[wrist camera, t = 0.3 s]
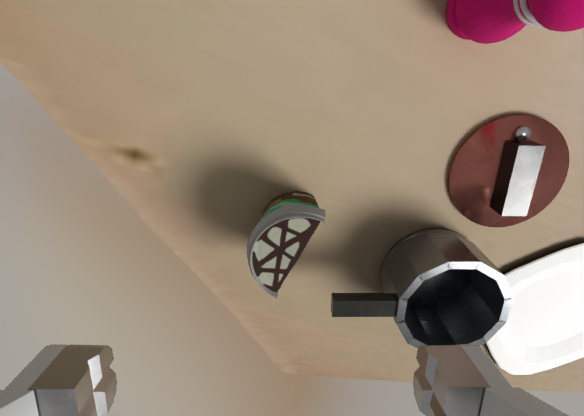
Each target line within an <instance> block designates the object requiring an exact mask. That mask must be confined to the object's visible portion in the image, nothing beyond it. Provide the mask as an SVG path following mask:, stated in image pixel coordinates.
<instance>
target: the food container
mask: <svg viewBox="0 0 584 416" xmlns="http://www.w3.org/2000/svg"><path fill="white" fill-rule="evenodd" d="M324 219H325V210H323V209H320V208H319V207H318V204H317V202H316V200H315V197H314V196H312V195H310V194H307V193H302V192H290V193H284V194H282V195H280V196H278V197H276V198H274V199H273V200H272V201H271V202H270V203H269V204H268V205H267V206H266V208H265V210H264V212H263V215H262V218H261V220H260V221H259V222H258V224H257V225H256V226H255V227H254V229H253V231H252V232H251V235H250V237H249V240H248V244H247V258H248V263H249V267H250V270H251V273H252V275H253V277H254V279H255V280H256V282H257V283H258V284H259V286H260V287H261V288H262V289H263V290H264V291H265V292H267V293H268V294H270V295H271V296H273V297H275V298H277V295H278V290H279V289H280V287H281V285H282V283H283V281H284V280H285V278H286V277H287V275H288V273H289V272H290V270H291V269H292V267H293V266H294V265H295V263H296V262H297V260H298V259H299V257H300V255H301V253H302V251H303V250H304V248H305V246H306V245H307V243H308V241H309V239H310V238H311V236H312V235H313V233H314V231H315V230H316V228H317V226H318V225H319V223H320V222H324Z"/></svg>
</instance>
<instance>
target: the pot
mask: <svg viewBox="0 0 584 416" xmlns="http://www.w3.org/2000/svg"><path fill="white" fill-rule="evenodd" d="M381 287H382V290H383V292H384V293H332V298H331V312H332V317H394V320H395V322H396V324H397V326H398V327H399V329H400V331H401V333H402V334H403V336H404V338H405V340H406V341H407V343H408V344H410V345H412V346H414V347H416V348H419V346H420V345H457V344H476V345H478V346H480V345H482V344H485V343H487V342H488V341H489V340H490V339H491V338H492V337H493V336H494V335H495V334H496V333H497V332H498V331H499V330H500V329H501V328H502V327H503V326H504V325H505V324H506V323H507V319H508V315H509V312H510V308H511V305H512V301H513V296H512V293H511V291H510V288H509V286H508V283H507V281H506V278H505V276H504V275H503V273H502V272H501V271H500V270H499V269H498V268H497V267H496V266H495V265H494V264H493V263H492V262H491V261H490V260H489V259H488V258H487V257H486V256H485V255H484V254H483V253H482V252H481V251H480V250H479V249H478V248H477V247H476V246H475V245H474V244H473V243H472V242H470V241H468V240H467V239H466V238H465V237H463V236H462V235H460V234H458V233H456V232H454V231H451V230H448V229H442V228H429V229H423V230H420V231H416V232H414V233H411V234H409V235H407V236H406V237H404V238H403V239H401V240H400V241H398V242H397V243H396V244H395V245H394V246H393V247H392V248H391V249H390V251H389V252H388V253H387V255H386V257H385V259H384V261H383V264H382V267H381Z"/></svg>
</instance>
